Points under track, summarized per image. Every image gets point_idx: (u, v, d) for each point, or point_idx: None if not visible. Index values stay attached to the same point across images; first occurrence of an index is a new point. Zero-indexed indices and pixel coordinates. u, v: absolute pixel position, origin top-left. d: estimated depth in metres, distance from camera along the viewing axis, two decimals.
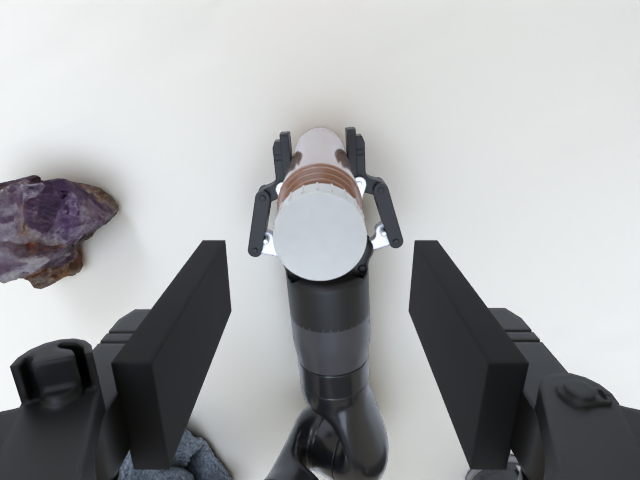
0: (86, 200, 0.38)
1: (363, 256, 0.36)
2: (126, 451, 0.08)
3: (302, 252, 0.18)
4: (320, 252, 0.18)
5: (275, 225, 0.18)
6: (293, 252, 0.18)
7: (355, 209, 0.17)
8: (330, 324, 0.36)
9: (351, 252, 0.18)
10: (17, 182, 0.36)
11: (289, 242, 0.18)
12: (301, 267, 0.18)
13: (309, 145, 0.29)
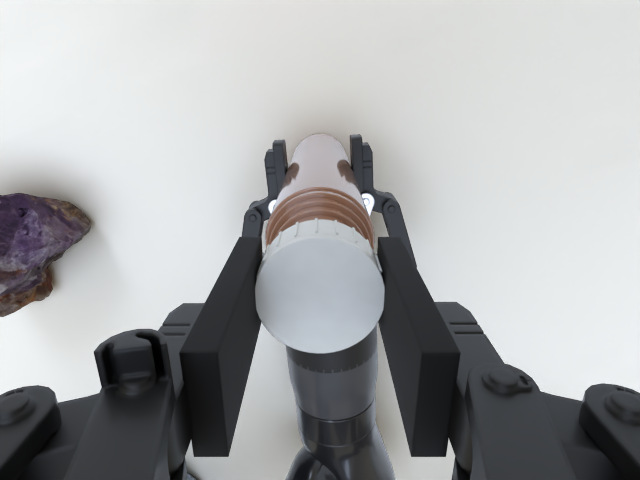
0: (51, 218, 0.33)
1: None
2: (190, 438, 0.09)
3: (295, 316, 0.13)
4: (320, 317, 0.13)
5: (258, 281, 0.13)
6: (283, 316, 0.13)
7: (369, 260, 0.12)
8: (332, 363, 0.31)
9: (363, 316, 0.13)
10: None
11: (277, 303, 0.13)
12: (294, 336, 0.13)
13: (307, 158, 0.24)
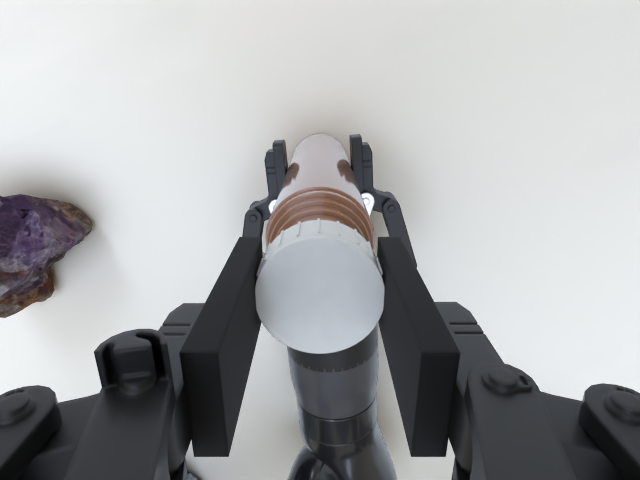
0: (53, 219, 0.33)
1: None
2: (190, 438, 0.09)
3: (346, 314, 0.13)
4: (340, 293, 0.13)
5: (318, 352, 0.14)
6: (349, 324, 0.13)
7: (264, 267, 0.12)
8: (333, 362, 0.31)
9: (328, 254, 0.12)
10: None
11: (336, 332, 0.13)
12: (368, 310, 0.13)
13: (307, 158, 0.24)
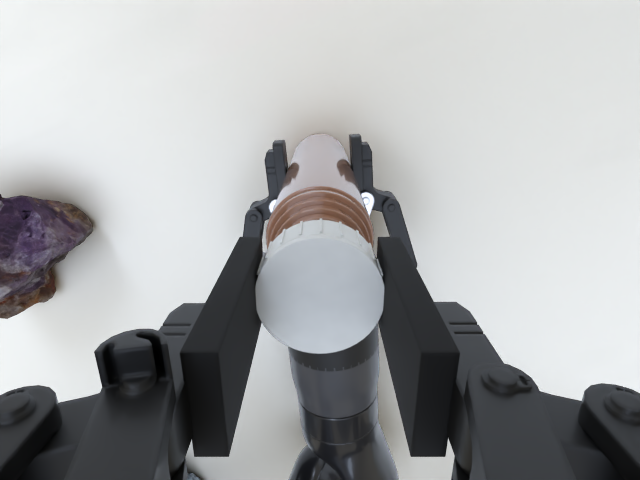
0: (54, 220, 0.33)
1: None
2: (190, 438, 0.09)
3: (329, 271, 0.13)
4: (307, 283, 0.13)
5: (382, 285, 0.13)
6: (341, 265, 0.12)
7: (301, 350, 0.14)
8: (334, 362, 0.31)
9: (271, 304, 0.13)
10: None
11: (353, 274, 0.13)
12: (318, 251, 0.12)
13: (307, 158, 0.24)
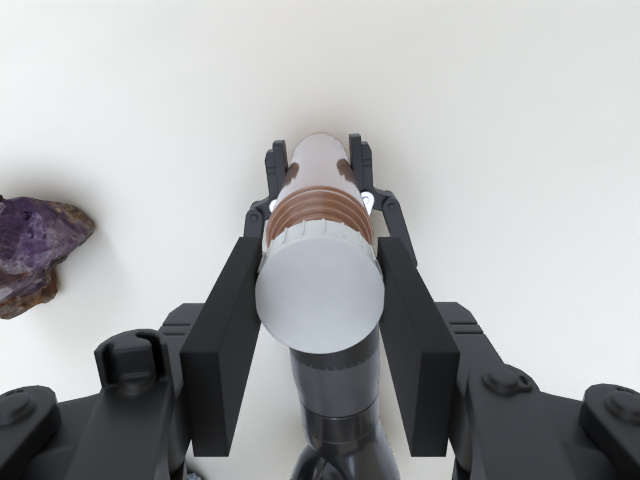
0: (55, 221, 0.33)
1: None
2: (190, 438, 0.09)
3: (287, 298, 0.13)
4: (306, 313, 0.13)
5: (286, 247, 0.12)
6: (278, 290, 0.13)
7: (383, 300, 0.13)
8: (334, 361, 0.31)
9: (337, 337, 0.13)
10: None
11: (284, 277, 0.13)
12: (271, 312, 0.13)
13: (306, 158, 0.24)
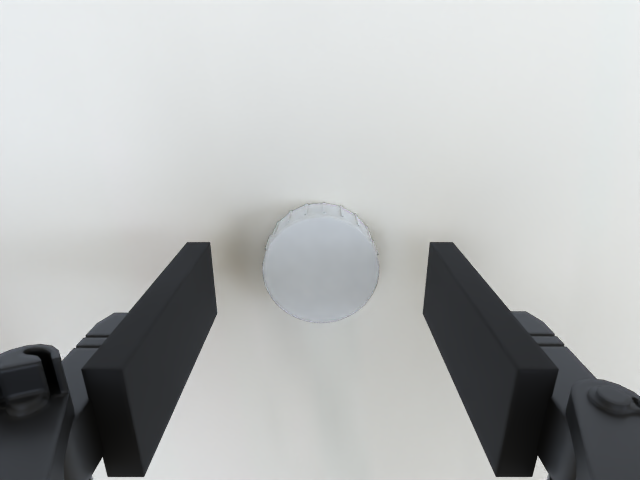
0: None
1: None
2: (99, 458, 0.08)
3: (292, 271, 0.14)
4: (308, 285, 0.15)
5: (291, 226, 0.14)
6: (283, 264, 0.14)
7: (377, 273, 0.14)
8: None
9: (336, 308, 0.15)
10: None
11: (289, 252, 0.14)
12: (277, 284, 0.15)
13: None
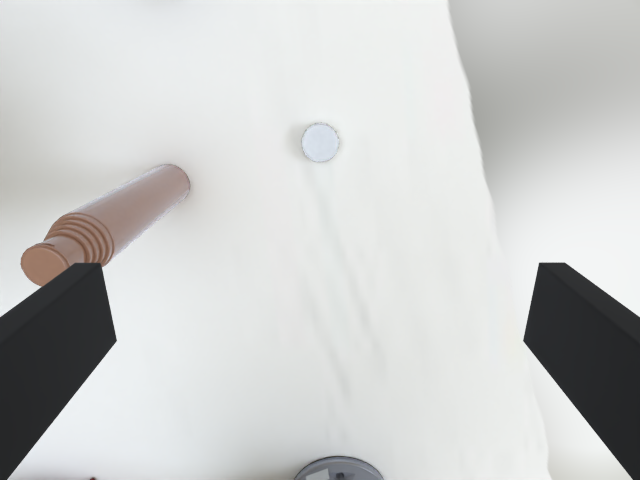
0: None
1: None
2: None
3: (311, 143, 0.46)
4: (316, 148, 0.46)
5: (311, 127, 0.45)
6: (308, 140, 0.46)
7: (338, 144, 0.46)
8: None
9: (325, 156, 0.46)
10: None
11: (310, 136, 0.45)
12: (306, 147, 0.46)
13: (152, 211, 0.38)
